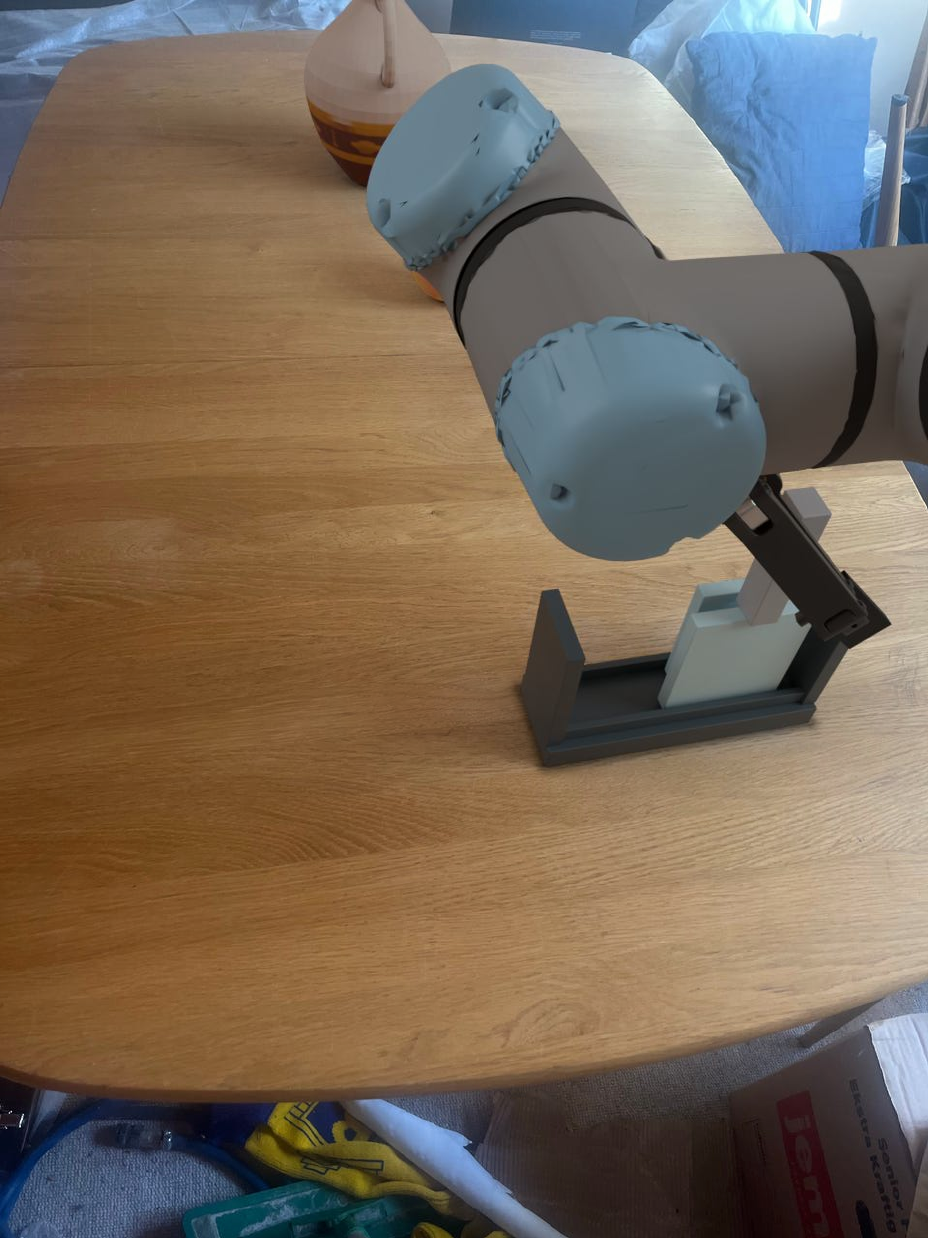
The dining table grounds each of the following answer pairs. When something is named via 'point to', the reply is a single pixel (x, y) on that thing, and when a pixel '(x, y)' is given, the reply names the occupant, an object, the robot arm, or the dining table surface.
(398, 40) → the striped pot
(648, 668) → the window frame
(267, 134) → the dining table surface
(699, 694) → the pane
